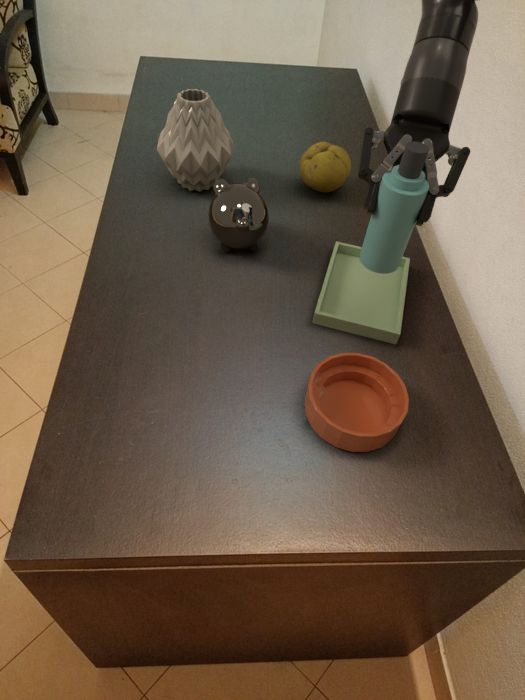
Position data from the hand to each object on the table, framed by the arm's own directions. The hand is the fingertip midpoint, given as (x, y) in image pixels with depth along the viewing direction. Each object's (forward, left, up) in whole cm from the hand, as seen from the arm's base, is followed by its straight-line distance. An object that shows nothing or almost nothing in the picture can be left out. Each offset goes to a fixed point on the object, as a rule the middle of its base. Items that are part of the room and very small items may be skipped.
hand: (394, 218), depth 62 cm
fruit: (+14, -41, -23) cm, 49 cm away
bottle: (0, -2, -8) cm, 9 cm away
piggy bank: (+26, -16, -23) cm, 38 cm away
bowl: (-2, +16, -22) cm, 28 cm away
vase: (+41, -33, -23) cm, 57 cm away
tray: (0, -9, -22) cm, 24 cm away
